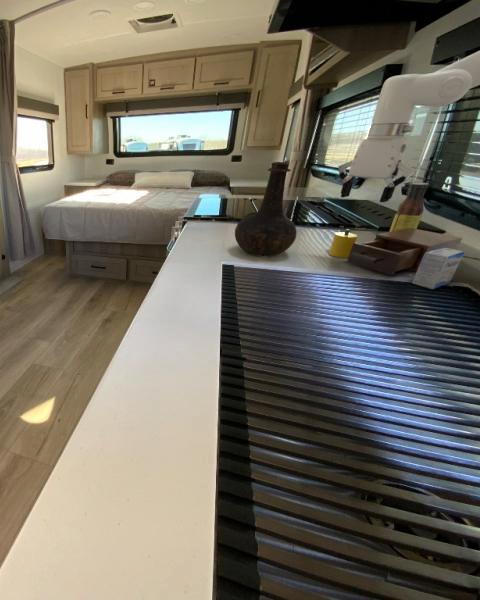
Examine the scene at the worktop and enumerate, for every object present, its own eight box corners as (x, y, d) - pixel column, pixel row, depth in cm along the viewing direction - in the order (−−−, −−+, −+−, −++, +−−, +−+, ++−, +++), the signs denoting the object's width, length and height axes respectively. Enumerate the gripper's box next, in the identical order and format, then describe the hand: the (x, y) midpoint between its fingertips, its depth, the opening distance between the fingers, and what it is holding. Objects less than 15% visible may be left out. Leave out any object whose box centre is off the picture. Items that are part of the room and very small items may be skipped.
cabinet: (416, 272, 91) (428, 246, 88) (367, 258, 102) (376, 234, 98) (449, 263, 96) (462, 237, 93) (399, 250, 107) (409, 227, 103)
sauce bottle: (414, 248, 108) (442, 184, 99) (394, 248, 109) (420, 185, 100) (397, 242, 114) (422, 181, 105) (379, 242, 114) (402, 182, 105)
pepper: (354, 256, 104) (363, 230, 100) (342, 258, 102) (350, 233, 99) (337, 251, 109) (345, 226, 105) (324, 253, 107) (332, 228, 103)
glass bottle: (260, 241, 120) (278, 158, 108) (304, 256, 105) (331, 162, 93) (220, 248, 116) (233, 162, 103) (259, 265, 101) (281, 166, 88)
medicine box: (432, 290, 82) (449, 257, 78) (410, 283, 85) (425, 251, 81) (449, 283, 84) (466, 251, 80) (427, 277, 88) (442, 246, 84)
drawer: (380, 278, 87) (389, 257, 84) (336, 264, 97) (343, 245, 94) (424, 266, 93) (433, 246, 90) (378, 254, 102) (386, 236, 100)
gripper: (436, 130, 80) (408, 202, 88) (356, 131, 94) (337, 193, 102) (422, 131, 78) (393, 205, 85) (341, 132, 91) (323, 196, 99)
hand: (363, 199), depth 94 cm, fingers open, 9 cm apart
